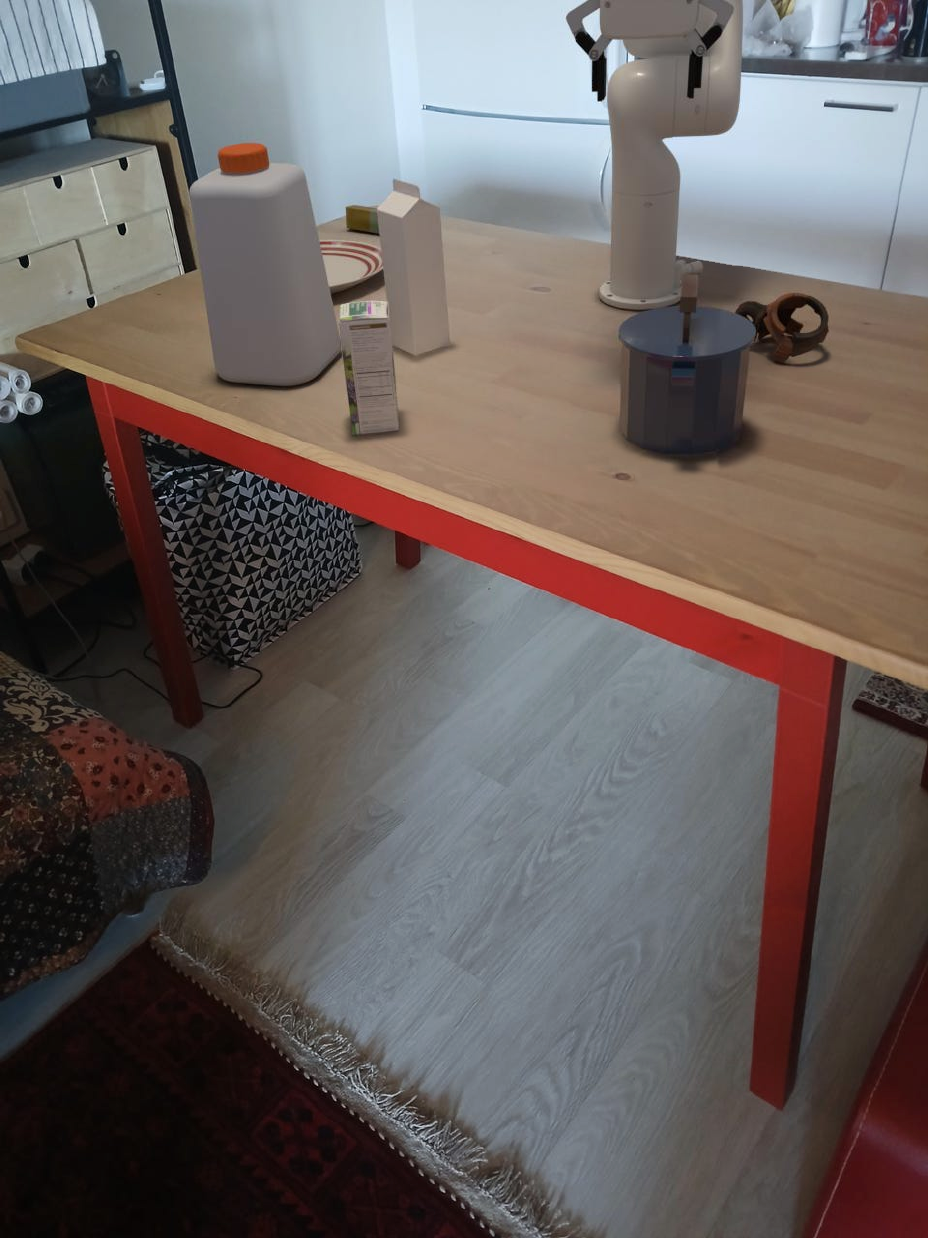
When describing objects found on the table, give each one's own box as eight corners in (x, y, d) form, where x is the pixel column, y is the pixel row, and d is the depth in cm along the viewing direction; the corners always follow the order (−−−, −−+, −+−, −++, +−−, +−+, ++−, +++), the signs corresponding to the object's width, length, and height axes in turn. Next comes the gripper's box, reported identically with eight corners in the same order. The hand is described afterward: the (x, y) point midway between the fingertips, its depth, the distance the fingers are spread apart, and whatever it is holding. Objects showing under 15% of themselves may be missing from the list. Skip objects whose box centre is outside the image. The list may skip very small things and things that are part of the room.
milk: (415, 359, 140) (398, 191, 127) (391, 347, 144) (372, 183, 131) (451, 347, 143) (438, 180, 129) (426, 335, 147) (411, 173, 133)
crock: (739, 396, 124) (748, 303, 117) (741, 472, 110) (752, 371, 103) (626, 394, 127) (628, 303, 120) (613, 468, 112) (616, 369, 105)
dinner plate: (304, 246, 185) (301, 227, 183) (424, 267, 171) (422, 247, 169) (190, 294, 168) (186, 274, 166) (313, 322, 154) (310, 300, 152)
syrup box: (352, 418, 127) (336, 302, 118) (400, 413, 127) (387, 297, 118) (352, 439, 122) (335, 320, 113) (402, 434, 122) (389, 315, 113)
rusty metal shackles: (819, 337, 138) (842, 296, 130) (804, 392, 135) (826, 352, 127) (733, 311, 139) (750, 268, 132) (716, 364, 136) (732, 324, 128)
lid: (753, 316, 116) (758, 262, 112) (756, 368, 105) (763, 310, 101) (623, 315, 119) (624, 262, 115) (613, 366, 107) (614, 309, 104)
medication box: (406, 234, 187) (405, 211, 185) (397, 237, 185) (396, 213, 183) (354, 225, 193) (353, 203, 191) (345, 228, 191) (344, 205, 189)
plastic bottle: (308, 391, 134) (270, 163, 117) (206, 384, 138) (155, 162, 121) (351, 346, 145) (322, 133, 128) (255, 341, 149) (215, 133, 133)
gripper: (741, -101, 103) (726, 88, 113) (570, -89, 106) (570, 93, 117) (743, -97, 97) (727, 101, 107) (561, -85, 101) (562, 107, 111)
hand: (645, 97), depth 112 cm, fingers open, 9 cm apart
